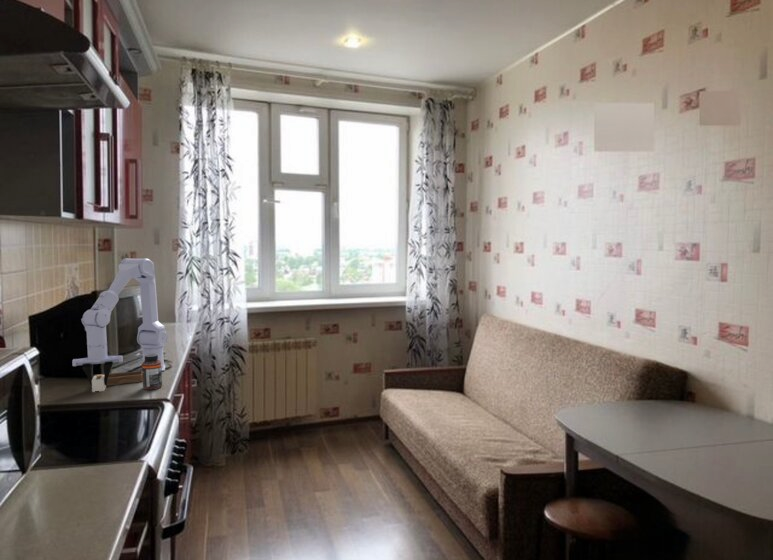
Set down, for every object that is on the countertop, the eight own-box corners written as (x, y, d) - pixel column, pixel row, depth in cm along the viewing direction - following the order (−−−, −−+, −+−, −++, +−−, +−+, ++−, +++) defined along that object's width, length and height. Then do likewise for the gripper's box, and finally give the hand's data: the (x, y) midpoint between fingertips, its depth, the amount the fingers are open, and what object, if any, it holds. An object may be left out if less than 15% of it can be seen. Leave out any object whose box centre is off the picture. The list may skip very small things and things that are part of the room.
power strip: (92, 392, 167) (91, 379, 167) (94, 387, 173) (94, 374, 173) (104, 390, 169) (103, 378, 168) (106, 386, 174) (105, 373, 174)
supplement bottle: (143, 386, 174) (141, 353, 173) (162, 384, 176) (160, 352, 175) (142, 391, 168) (141, 357, 167) (162, 388, 171) (161, 355, 170)
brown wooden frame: (95, 381, 180) (94, 374, 180) (144, 376, 186) (144, 370, 186) (92, 387, 173) (91, 380, 173) (143, 381, 179) (143, 375, 179)
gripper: (69, 349, 163) (71, 390, 164) (120, 345, 169) (122, 385, 170) (73, 345, 170) (75, 384, 171) (122, 341, 175) (124, 380, 176)
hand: (99, 384), depth 171 cm, fingers closed on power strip, 3 cm apart
